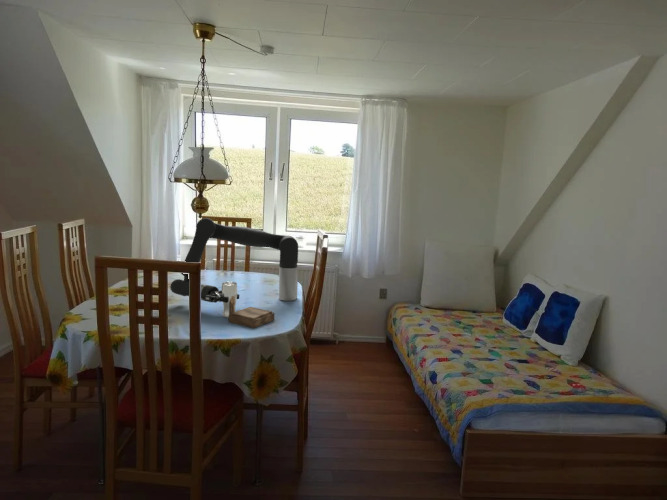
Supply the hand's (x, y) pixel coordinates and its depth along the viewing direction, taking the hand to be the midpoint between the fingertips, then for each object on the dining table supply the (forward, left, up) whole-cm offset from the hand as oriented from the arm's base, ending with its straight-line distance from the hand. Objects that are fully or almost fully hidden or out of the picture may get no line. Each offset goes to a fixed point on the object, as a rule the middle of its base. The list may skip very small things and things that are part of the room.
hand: (233, 298), depth 200 cm
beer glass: (0, -2, -8) cm, 9 cm away
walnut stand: (0, +11, -8) cm, 14 cm away
